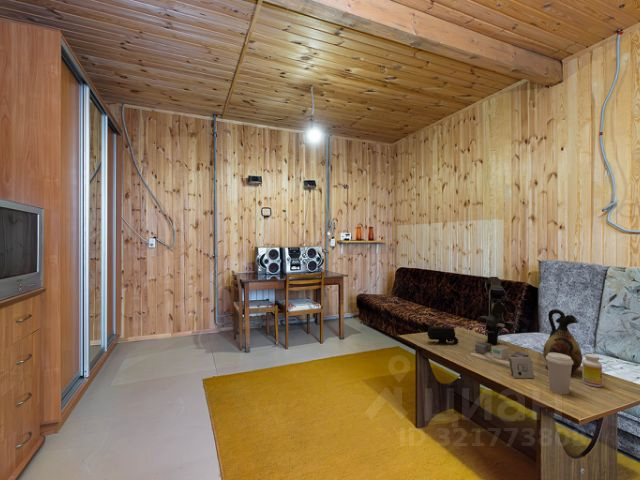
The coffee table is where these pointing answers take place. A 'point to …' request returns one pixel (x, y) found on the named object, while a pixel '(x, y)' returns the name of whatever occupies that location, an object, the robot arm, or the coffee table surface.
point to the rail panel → (485, 353)
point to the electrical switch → (521, 367)
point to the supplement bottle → (592, 371)
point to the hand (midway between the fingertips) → (496, 337)
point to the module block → (500, 351)
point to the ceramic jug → (563, 339)
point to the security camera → (442, 334)
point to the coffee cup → (559, 372)
